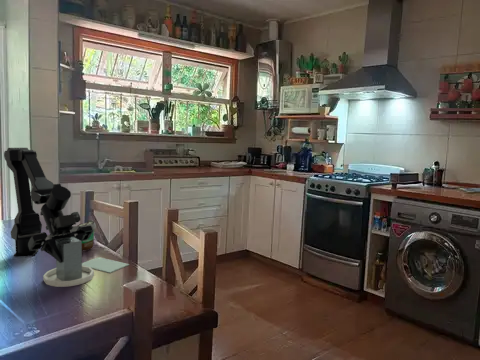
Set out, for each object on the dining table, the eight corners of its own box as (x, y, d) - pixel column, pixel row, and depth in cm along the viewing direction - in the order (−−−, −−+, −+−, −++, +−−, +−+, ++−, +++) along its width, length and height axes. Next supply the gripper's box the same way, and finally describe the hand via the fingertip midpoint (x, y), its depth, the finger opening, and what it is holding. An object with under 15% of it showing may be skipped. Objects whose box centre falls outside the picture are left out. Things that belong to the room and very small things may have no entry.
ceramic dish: (37, 288, 114) (37, 282, 114) (52, 271, 128) (52, 265, 128) (87, 287, 116) (87, 281, 116) (97, 270, 130) (97, 264, 130)
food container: (84, 253, 147) (84, 227, 145) (70, 252, 148) (69, 226, 146) (102, 244, 159) (102, 220, 157) (88, 243, 160) (88, 219, 158)
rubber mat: (79, 266, 133) (79, 264, 133) (98, 259, 141) (98, 257, 141) (110, 274, 127) (110, 272, 127) (129, 266, 135) (129, 264, 135)
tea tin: (64, 282, 118) (63, 244, 117) (56, 277, 122) (55, 240, 120) (81, 277, 122) (81, 240, 121) (73, 273, 126) (73, 237, 124)
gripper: (30, 207, 115) (47, 253, 109) (90, 200, 129) (108, 240, 123) (21, 228, 121) (36, 272, 115) (79, 219, 135) (95, 258, 129)
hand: (71, 260), depth 120 cm, fingers closed on tea tin, 5 cm apart
